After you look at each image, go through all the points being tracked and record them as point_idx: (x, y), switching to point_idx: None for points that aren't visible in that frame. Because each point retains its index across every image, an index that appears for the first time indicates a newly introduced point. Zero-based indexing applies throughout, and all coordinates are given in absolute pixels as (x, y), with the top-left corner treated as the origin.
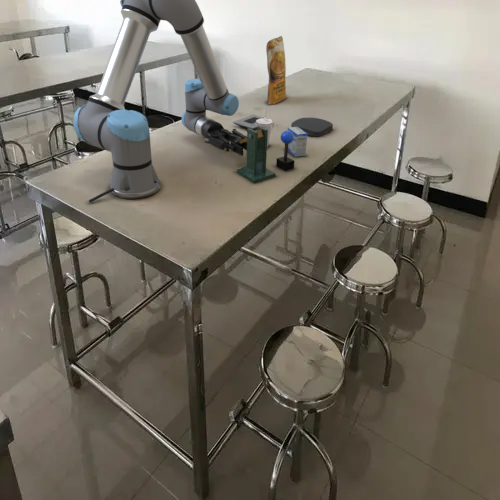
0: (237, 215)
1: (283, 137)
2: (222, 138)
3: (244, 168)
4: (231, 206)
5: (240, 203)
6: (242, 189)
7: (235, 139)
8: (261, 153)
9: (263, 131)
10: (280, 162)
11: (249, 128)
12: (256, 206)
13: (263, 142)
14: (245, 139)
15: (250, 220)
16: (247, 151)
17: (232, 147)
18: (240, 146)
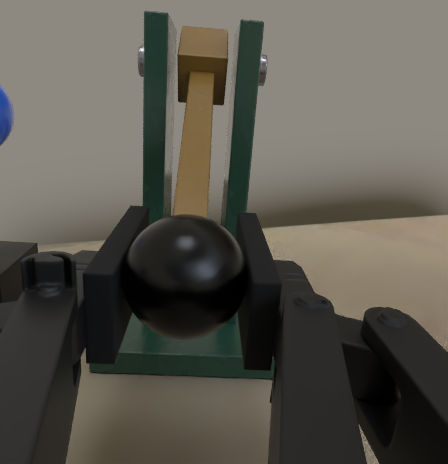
0: (397, 234)
1: (10, 104)
2: (341, 428)
3: (226, 343)
4: (405, 252)
5: (371, 250)
6: (330, 281)
7: (221, 239)
8: (169, 193)
9: (174, 40)
10: (20, 270)
11: (245, 20)
12: (328, 233)
13: (173, 115)
14: (210, 152)
15: (369, 221)
16: (247, 194)
17: (296, 268)
18: (243, 222)
